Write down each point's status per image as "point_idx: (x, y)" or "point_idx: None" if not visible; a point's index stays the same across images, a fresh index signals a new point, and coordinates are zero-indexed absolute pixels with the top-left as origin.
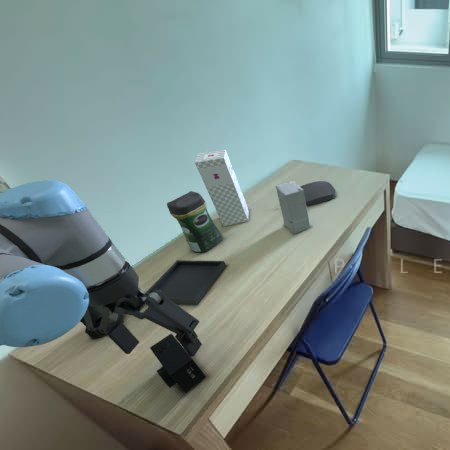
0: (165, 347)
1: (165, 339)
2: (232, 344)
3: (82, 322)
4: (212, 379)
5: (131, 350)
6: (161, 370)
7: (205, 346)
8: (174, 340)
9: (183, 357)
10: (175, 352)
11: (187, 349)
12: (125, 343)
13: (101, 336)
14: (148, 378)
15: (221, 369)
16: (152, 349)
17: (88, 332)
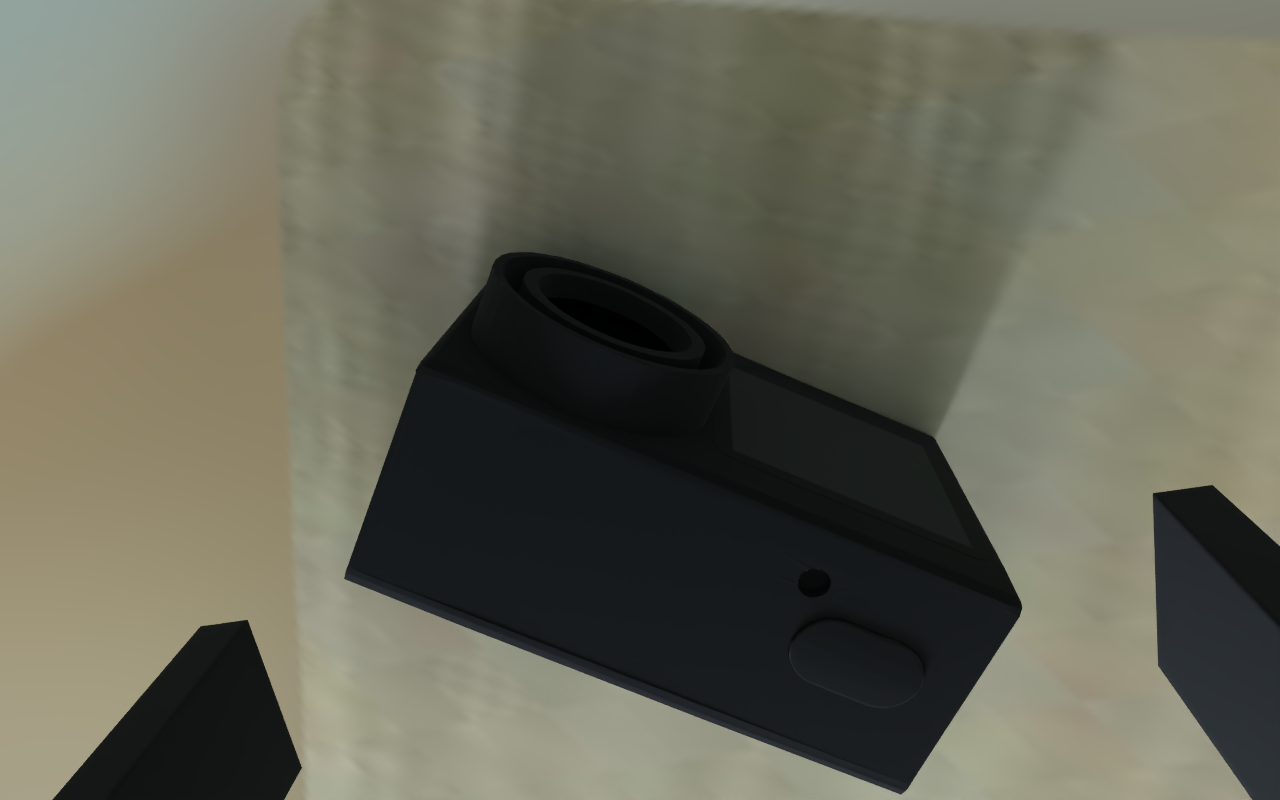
0: (806, 640)
1: (907, 722)
2: (464, 716)
3: None
4: (375, 419)
5: (1159, 543)
6: (598, 390)
7: None
8: (777, 729)
9: (464, 577)
10: (621, 610)
11: (121, 730)
12: (1244, 646)
13: None
14: (1008, 296)
15: None
16: (961, 590)
17: None
